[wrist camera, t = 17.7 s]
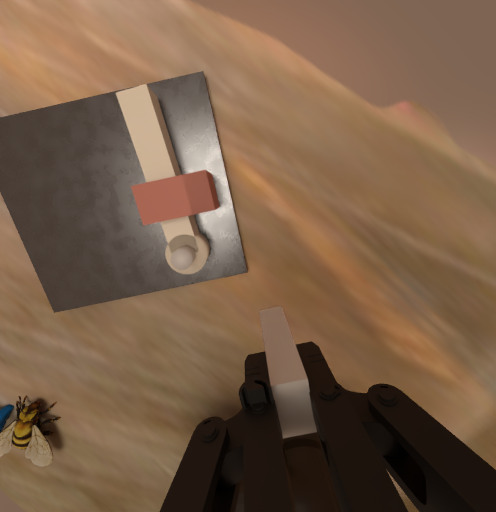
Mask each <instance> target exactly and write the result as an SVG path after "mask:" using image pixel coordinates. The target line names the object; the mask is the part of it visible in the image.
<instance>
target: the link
mask: <svg viewBox="0 0 496 512" xmlns="http://www.w3.org/2000/svg"><path fill="white" fill-rule="evenodd" d="M116 96H117V98H118V101H119V104H120V107H121V110H122V113H123V116H124V119H125V121H126V124H127V127H128V130H129V133H130V136H131V139H132V142H133V145H134V147H135V150H136V153H137V156H138V159H139V162H140V165H141V168H142V170H143V173H144V176H145V179H146V182H151V181H156V180H160V179H165V178H170V177H174V176H179V175H181V172H180V169H179V166H178V163H177V159H176V156H175V153H174V150H173V146H172V143H171V140H170V137H169V134H168V130H167V127H166V124H165V121H164V117H163V114H162V111H161V108H160V105H159V101H158V98H157V96H156V95H155V94H154V92H153V91H152V90H151V89H150V88H149V87H148V85H147V84H144V85H141V86H137V87H134V88H130V89H127V90H123V91H120V92H116ZM161 225H162V228H163V231H164V234H165V237H166V240H167V242H168V244H167V247H166V251H165V256H166V260H167V262H168V264H169V266H170V267H171V268H172V269H173V270H175V271H176V272H178V273H181V274H193V273H196V272H198V271H199V270H200V269H201V268H202V267H203V266H204V264H205V262H206V261H207V259H208V257H209V254H210V245H209V242H208V240H207V239H206V237H205V236H204V235H202V234H201V233H199V230H198V227H197V224H196V220H195V217H194V215H190V216H185V217H180V218H176V219H171V220H166V221H162V222H161Z"/></svg>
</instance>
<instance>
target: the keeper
mask: <svg viewBox="0 0 496 512" xmlns="http://www.w3.org/2000/svg"><path fill="white" fill-rule="evenodd" d="M131 188H132V191H133V195H134V198H135V201H136V204H137V207H138V210H139V214H140V217H141V220H142V223H143V225H148V224H152V223H157V222H162V221H166V220H171V219H176V218H180V217H185V216H190V215H194V214H199V213H204V212H208V211H213V210H216V209H218V208H219V207H220V205H219V200H218V196H217V192H216V188H215V183H214V179H213V175H212V174H211V173H210V172H208V171H207V170H201V171H197V172H192V173H188V174H183V175H179V176H174V177H170V178H165V179H160V180H156V181H151V182H147V183H142V184H138V185H133V186H131Z"/></svg>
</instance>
